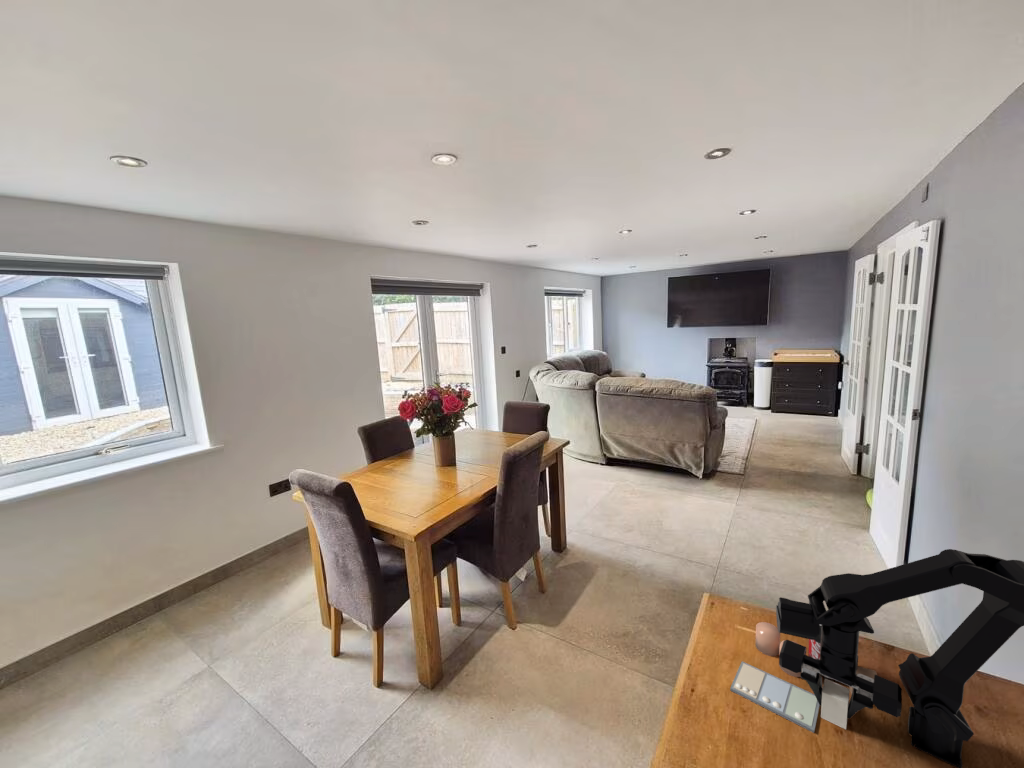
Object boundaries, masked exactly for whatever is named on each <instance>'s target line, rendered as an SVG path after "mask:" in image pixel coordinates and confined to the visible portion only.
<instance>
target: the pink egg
mask: <svg viewBox="0 0 1024 768" xmlns="http://www.w3.org/2000/svg"><path fill="white" fill-rule="evenodd" d="M785 640H786V639H784V640H782V641H781V640H780V650H779V654H778V657H779V656H780V651H781V648H782V645H783V642H784V641H785ZM791 641H792V642H795V643H797V644H799V643H798V642H797V641H793V640H791ZM805 655H807V653H806V654H805ZM778 665H779V668H780V669H781V670H782V671H783V672H784V673H786V674H787V675H789V676H791V677H795V678H801V676H800V674H801V672H799V673H795V672H792V671H790V670H788V669H786V668H783V667H781V665H780V664H779V663H778Z"/></svg>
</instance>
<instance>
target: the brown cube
mask: <svg viewBox="0 0 1024 768" xmlns="http://www.w3.org/2000/svg"><path fill="white" fill-rule="evenodd" d="M856 674H863V675H865V676H868V677H870V678H872V679H874V675H877V676H878V673H877V670H874V669H869V668H867V667H863V666H859V665H858V668H857V670H856ZM848 688H849V689H850V696H851V695H852V691H853V687H851V686H848ZM873 706H875V705H874V704H873Z"/></svg>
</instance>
